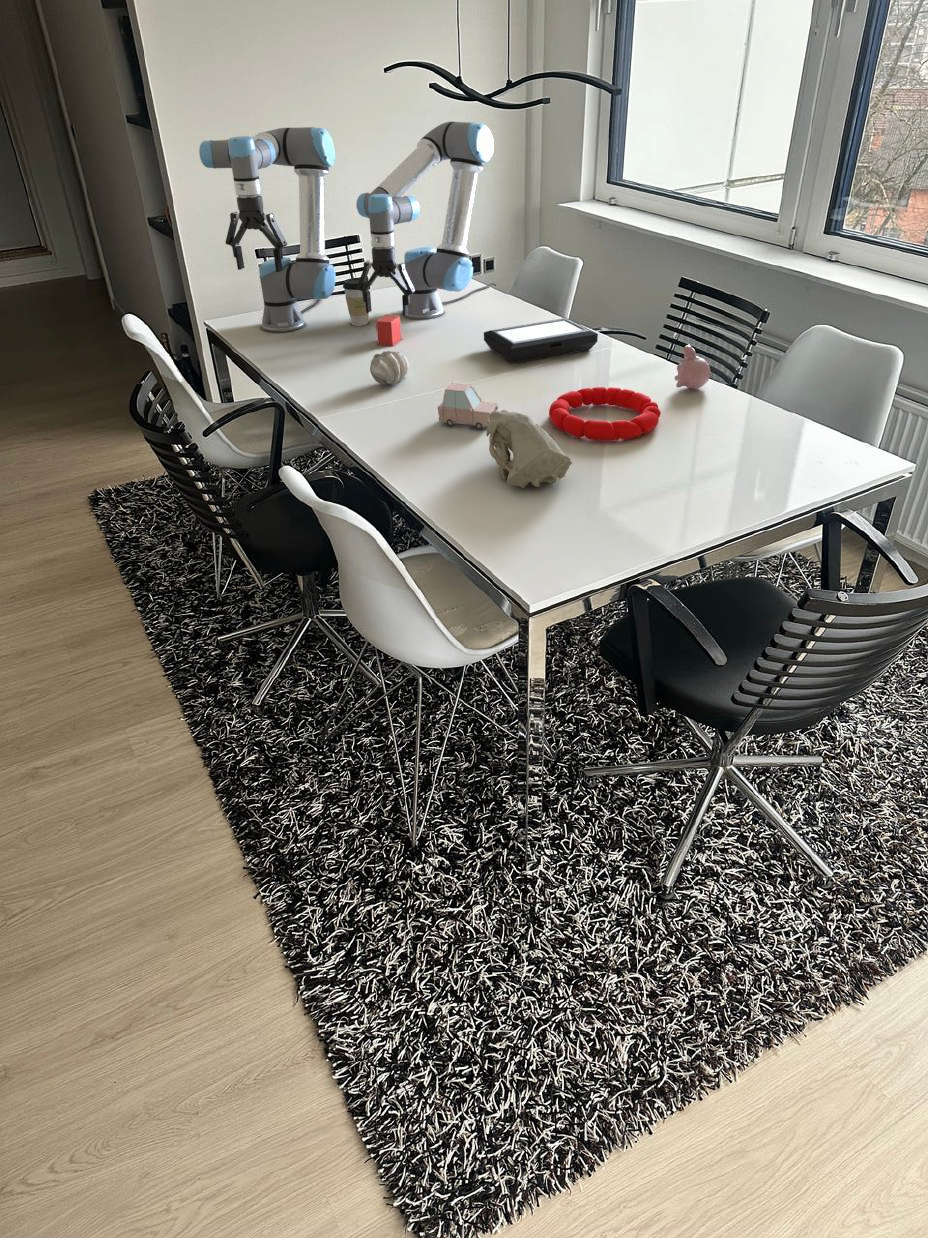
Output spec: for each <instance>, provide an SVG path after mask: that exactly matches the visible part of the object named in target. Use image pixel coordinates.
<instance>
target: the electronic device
mask: <svg viewBox="0 0 928 1238" xmlns="http://www.w3.org/2000/svg"><path fill="white" fill-rule="evenodd" d="M598 337H599V333H597V332H595V331H594V330H591V329H589V328H587V327H585V326H583V325H581V324H579V323H577V322H575V321H574V320H571V319H570V318H567V317H564V318H558V319H552V320H544V321H540V322H533V323H526V324H521V325H515V326H508V327H502V328H497V329H496V328H495V329H491V330H487V331H484V332H483V341H484V343H485V344H486V345H487V346H488V348H489V349H490V350H491V351H493V352H495V353H496V354H497V355H500V356H501V357H502V358H505V359H506V360H507V361H509V362H510V363H511V364H515V363H520V362H527V361H533V360H538V359H543V358H544V359H545V358H550V357H551V358H552V357H556V356H561V355H566V354H567V355H568V354H572V353H579V352H584V351H589V350H591V349H593V347H595V345H596V344H597V343H598V341H599V340H598Z"/></svg>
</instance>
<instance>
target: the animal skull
mask: <svg viewBox="0 0 928 1238" xmlns="http://www.w3.org/2000/svg"><path fill="white" fill-rule="evenodd" d="M485 436H486V438H487V437H489V438H488V440H489V444H488V445H489V446H488V450H489V454H490V456H491V457H492V458H493V459H494V460H495V462H496V464H497V466H499V468H500V470H501V471H502V472H501V478H502V479H507V480H506V484H507V486H517V487H518V486H519V488H523V489H524V488H526V486H527V485H529V483H531V485H533V486H534V487H536V488H540V485H541V484H542V482H544V483H549V484H550V485H553V484H555V483H556V482H557V480H561V479H563V478H565V476H566V474H567V472H568V471H569V469H570V467H571V466H572V464H573V462H572V461H571V458H570V457H568V456H567V455H565V453H564V451H562V449H561V448H560V446H559V444H557V443H556V439H555V438H554V436H553V435H551V434H550V433H548V432H547V431H546V430H545V429H544V428H542V427H541V426H539V425H538V424H537V423H536V424H535V422H534V421H533V419H532V418H531V417H530V416H529V415H527V414H524V413H519V412H515V411H509V410H507V409H502V410H500V411H499V410H497V411H496V412H492V413H491V414H490V422H488V423H487V427H486V435H485ZM511 453H512V454H511ZM511 455H512V457H513V458H512V460H511ZM507 474H508V475H507Z"/></svg>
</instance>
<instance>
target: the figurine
mask: <svg viewBox="0 0 928 1238" xmlns="http://www.w3.org/2000/svg"><path fill="white" fill-rule="evenodd" d="M682 354H683V358H684V359H683V361H682V362H679V363H678V364H677V365H676V372H677V375H675V376H674V381H675V382H676V381H677V382H676V384H675V386H676V388H681V387H686V388H688V389H693V390H694V389H695V390H696V389H700V388H703V387H704V386H705V385H706V384H707V383H708V382H709V379H710V377H711V367H710V364H709V362H708V361H706V359H704V358H702V357H700V356H697V353H696V350H695V349H694V347H692V345H690V344H686V345H685V346H684V347H683V348H682Z"/></svg>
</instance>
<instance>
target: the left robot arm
mask: <svg viewBox="0 0 928 1238" xmlns="http://www.w3.org/2000/svg"><path fill="white" fill-rule="evenodd" d="M328 131H329V130H327V129H325V128H323V127H314V126H310V127H309V126H308V127H307V126H306V127H280V128H275V129H271V130H270V129H269V130H267V131H261V132H258V133H257V134H255V136H248V135H241V136H240V135H239V136H232V137H230V138H227V139H220V140H219V139H218V140H212V139H209V140H203V141H202V142H200V145H199V149H198V153H199V154H198V155H199V159H200V162H201V164H202V165H203V167H205V168H207V169H214V170H215V169H231V171H232V178H233V185H234V192H235V195H236V196H237V197H236V204H237V209H238V211H239V212H237V211H233V212H231V213H230V214H229V217H230V218H229V219H230V220H229V221H230V222H229V226H228V229H227V234H226V238H225V245H227V246H230V247H231V249H232V256H233V258H235V261H236V267H237V270H238V271H241V270H243V269H245V262H244V257H243V250H242V245H240V242H241V241H242V239H243V237H244V235H245V233H246V231H247V230H254V231H255V230H258V231H260V232H261V233H262V234H263V235H264V237H265V238H266V239H267V240H268V242H269V243H270V244H271V245H272V246H273V247H274V249H272V252H273V253H272V254H273V259H268V260H266V261H263V262H261V263H260V265H259V266H258V273H259V274H258V275H259V281H260V287H261V292H262V293H261V294H262V299H263V313H262V319H261V326H262V330H264V331H265V332H271V333H286V332H293V331H296V330H297V331H298V330H300V329H302V328H304V326H305V319H304V317H303V313H305V312H307V311H308V310H310V309H312V308H314V307H316V305H318V304H319V303H320V301H321V300H326V299H329V298H330V297H331V296H332V294H333V292H334V290H335V286H336V279H337V278H336V277H337V275H336V269H335V266H334V265H333V264H331V263H330V258H329V257H328V256H327V255H326V227H325V226H326V221H325V219H326V218H325V215H326V214H325V207H326V206H325V178H326V177H327V176H328V175H329V171H330V170H329V169H330V168H332V167H333V166H334V164H335V161H336V150H335V145H334V141H333V139H332V136H331V134H330V133H329V132H328ZM271 165H278V166H284V167H293V171H294V173H295V174H296V175H297V176H298V197H299V198H298V204H299V205H298V208H299V254H297V255H296V256H295V263H294V262H293V260H292V259H291V257H287V256H285V257H284V254H283V248H285V247H287V246H288V242H287V241H286V240H287V239H286V238H285V237H284V235H283V233H282V231H281V229H280V227H279V226H278V223H277V222H276V219H275V215H274V213H273V212H270V213H267V214H265V212H264V202H263V196H262V195H261V194H262V188H261V181H260V175H259V170H261V169H266V168H268V167H270V166H271ZM239 220H240V222H241V223H240V225H239V227H238V223H239ZM265 221H266V222H267V223H266V222H265ZM237 227H238V230H237ZM236 231H237V232H236ZM297 299H306V300H316V301H315V302H314V303H313V304H311V305H309V306H308V307H306V308H304V309H302V310H300V307H299V306H298V305H299V304H298V303H297Z"/></svg>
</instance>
